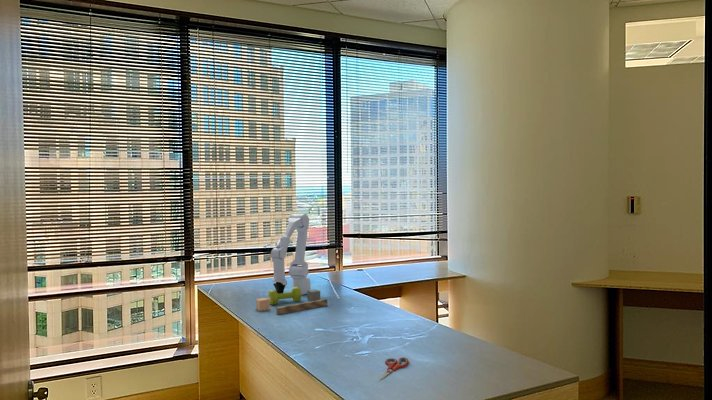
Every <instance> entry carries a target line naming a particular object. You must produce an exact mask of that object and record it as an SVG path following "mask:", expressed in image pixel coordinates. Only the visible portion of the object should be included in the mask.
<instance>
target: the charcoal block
mask: <svg viewBox="0 0 712 400" xmlns="http://www.w3.org/2000/svg"><path fill="white" fill-rule="evenodd" d="M306 295H307V296H306V297H307V298H306V299H307V302H310V301H316V300H322V298H321V290H318V289H311V290H309V291H307V294H306Z"/></svg>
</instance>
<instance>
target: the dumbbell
mask: <svg viewBox="0 0 712 400" xmlns="http://www.w3.org/2000/svg"><path fill="white" fill-rule="evenodd" d="M267 298H268V299H269V300H270V306H271V305H272V306H274V305H277V304H278V302H279V301H280V300H286V299H291V300H293V301H294V302H300V301H301V300H302V295H301V290H300V288H299V287H293V286H292V288H291V290H290V291H288V292H283V293H280V294H279V293H277V292H276V289H269V290H268V297H267Z"/></svg>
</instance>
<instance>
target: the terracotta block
mask: <svg viewBox="0 0 712 400" xmlns="http://www.w3.org/2000/svg"><path fill="white" fill-rule="evenodd" d="M255 306H256V307H255V310H257V311H260V312H263V310H264V311H267V310H268V309H269V310H270V309H271V307H270V306H271V304H270V300H269V298H268V297H261V298H257V299H256V298H255Z"/></svg>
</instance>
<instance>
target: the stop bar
mask: <svg viewBox="0 0 712 400" xmlns="http://www.w3.org/2000/svg"><path fill="white" fill-rule="evenodd" d="M321 307H328V299H326V298H321V300H316V301H306V302H301V303H294V304H288V305H282V306H278V307H277V306H276V314H277V315H278V316H279V315H284V314H289V313H294V312H301V311H305V310H310V309H317V308H321Z"/></svg>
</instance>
